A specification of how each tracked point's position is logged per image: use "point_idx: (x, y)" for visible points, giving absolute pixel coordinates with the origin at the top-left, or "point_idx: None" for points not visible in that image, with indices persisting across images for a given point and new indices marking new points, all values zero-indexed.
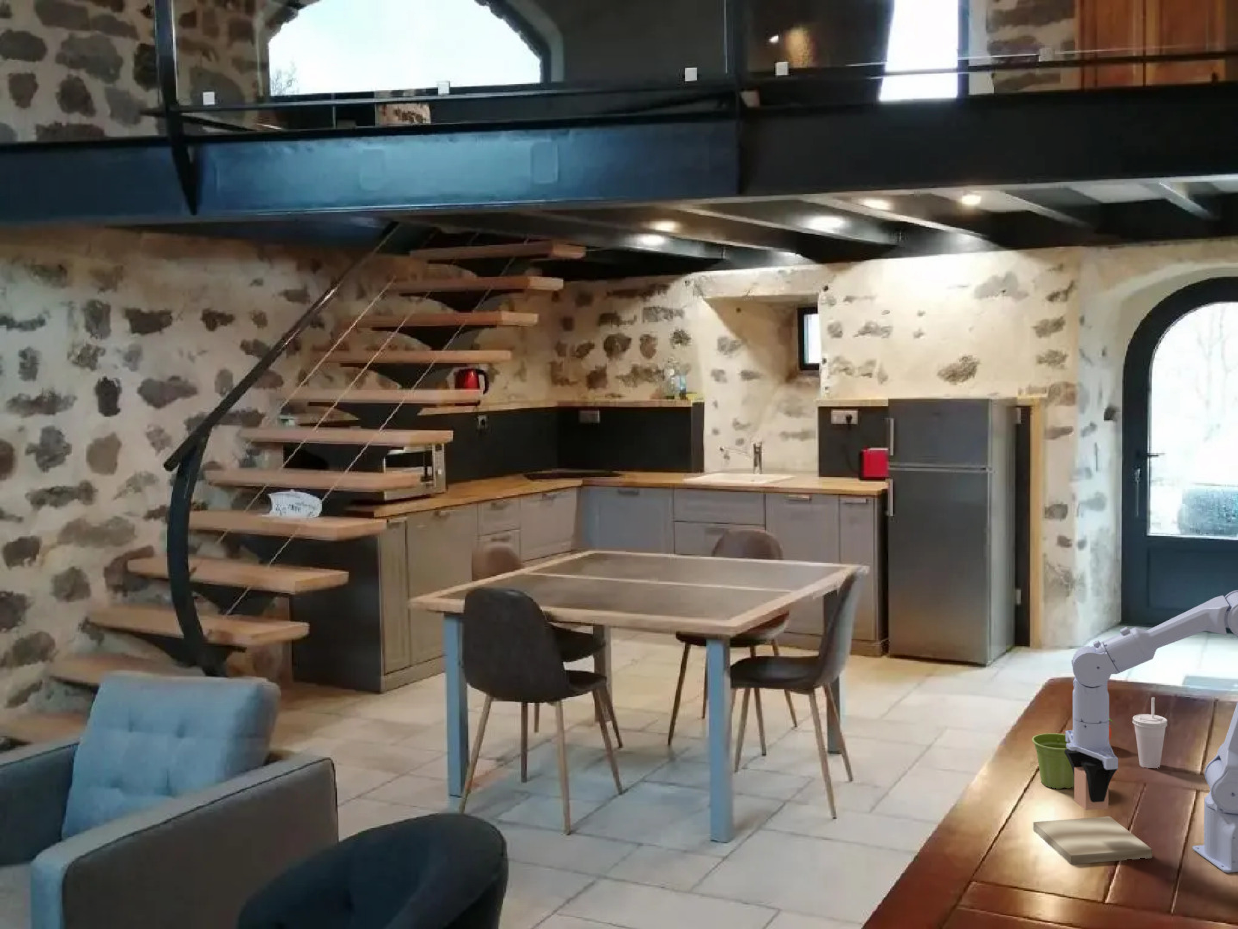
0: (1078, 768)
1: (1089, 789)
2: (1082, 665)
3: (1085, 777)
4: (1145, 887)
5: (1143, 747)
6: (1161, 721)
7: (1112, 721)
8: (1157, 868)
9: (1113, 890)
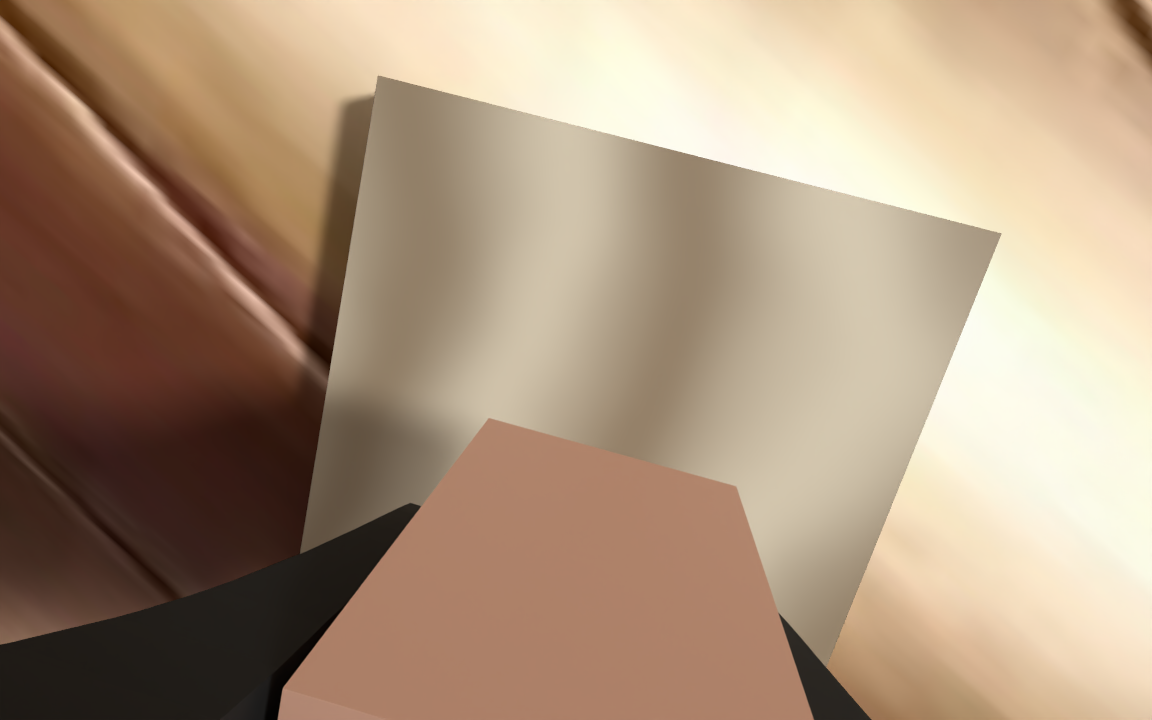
0: None
1: (358, 558)
2: None
3: (309, 655)
4: (27, 284)
5: None
6: None
7: None
8: (207, 510)
9: (31, 85)
